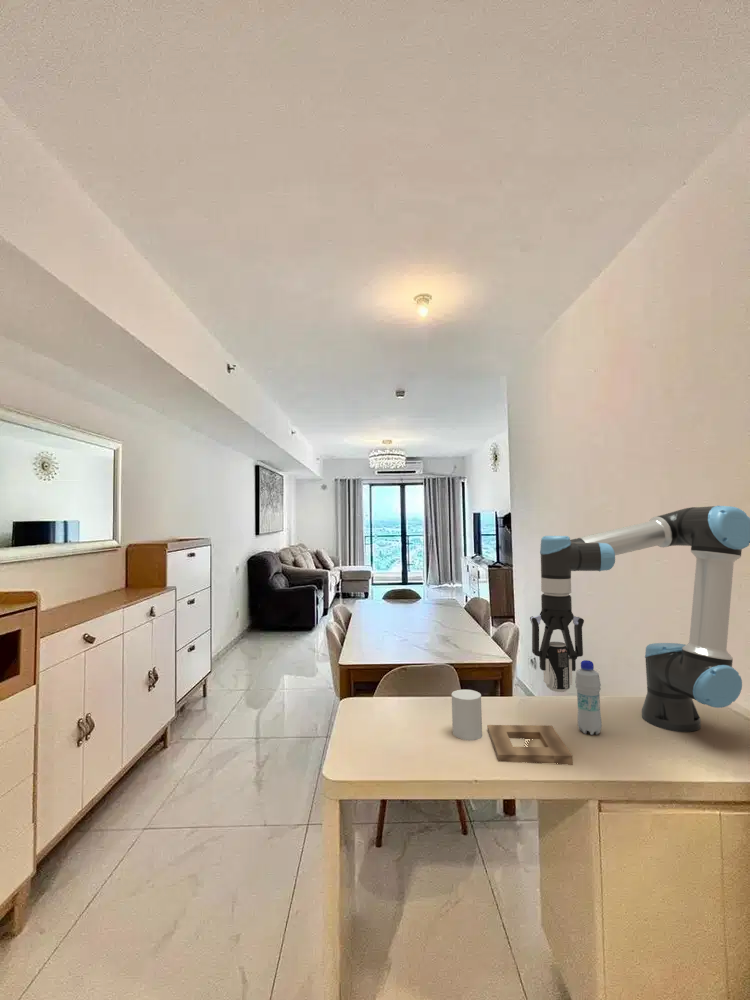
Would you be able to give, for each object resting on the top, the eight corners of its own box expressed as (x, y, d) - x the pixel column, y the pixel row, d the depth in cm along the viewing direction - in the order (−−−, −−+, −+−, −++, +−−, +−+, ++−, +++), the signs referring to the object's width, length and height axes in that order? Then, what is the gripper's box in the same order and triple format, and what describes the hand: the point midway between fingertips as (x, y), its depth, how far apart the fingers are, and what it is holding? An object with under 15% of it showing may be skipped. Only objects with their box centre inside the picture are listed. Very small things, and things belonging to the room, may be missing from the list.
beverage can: (548, 684, 133) (547, 639, 134) (571, 688, 130) (569, 642, 131) (544, 691, 128) (543, 644, 129) (568, 694, 125) (566, 646, 126)
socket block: (552, 734, 139) (551, 725, 139) (572, 765, 121) (572, 755, 121) (487, 733, 140) (487, 724, 140) (498, 764, 122) (498, 754, 122)
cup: (485, 734, 139) (483, 691, 140) (478, 746, 132) (477, 701, 133) (457, 730, 143) (456, 688, 143) (449, 741, 136) (448, 697, 136)
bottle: (605, 737, 136) (602, 664, 137) (579, 736, 137) (576, 663, 138) (599, 727, 142) (596, 657, 143) (575, 726, 144) (572, 656, 145)
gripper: (586, 592, 134) (587, 679, 133) (518, 591, 135) (519, 677, 134) (596, 596, 126) (598, 688, 125) (524, 595, 127) (526, 686, 126)
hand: (557, 682), depth 129 cm, fingers closed on beverage can, 5 cm apart
